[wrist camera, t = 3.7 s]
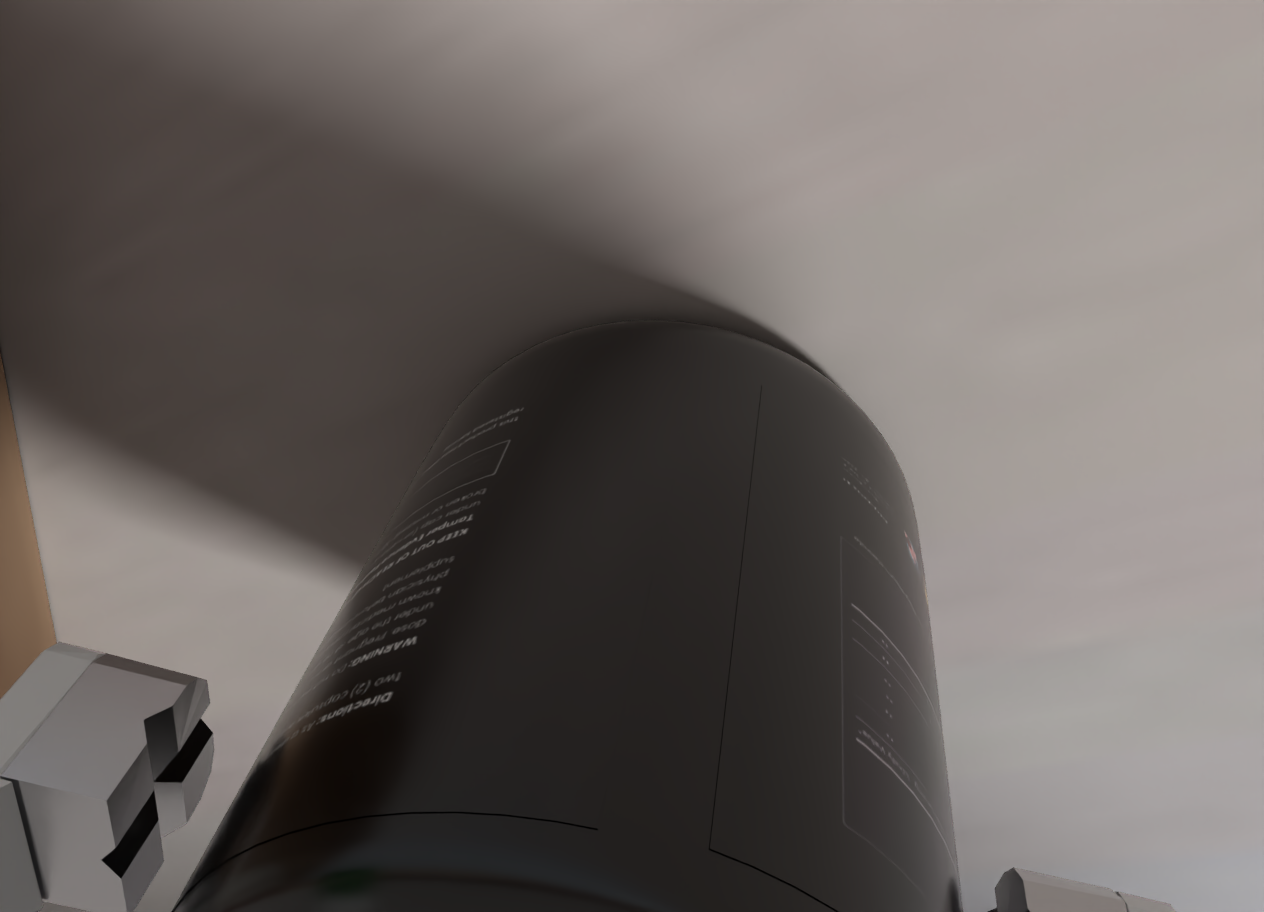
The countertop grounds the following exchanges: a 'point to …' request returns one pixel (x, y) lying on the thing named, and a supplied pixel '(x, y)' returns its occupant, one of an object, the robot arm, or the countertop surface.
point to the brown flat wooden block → (18, 562)
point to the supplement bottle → (619, 661)
